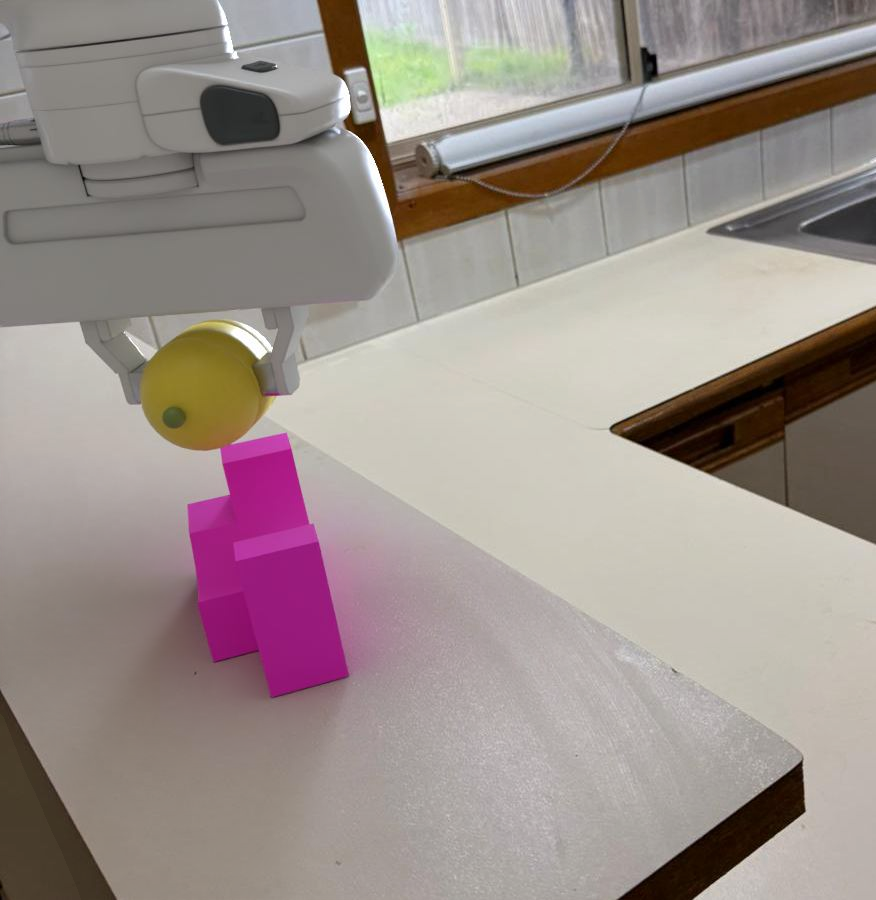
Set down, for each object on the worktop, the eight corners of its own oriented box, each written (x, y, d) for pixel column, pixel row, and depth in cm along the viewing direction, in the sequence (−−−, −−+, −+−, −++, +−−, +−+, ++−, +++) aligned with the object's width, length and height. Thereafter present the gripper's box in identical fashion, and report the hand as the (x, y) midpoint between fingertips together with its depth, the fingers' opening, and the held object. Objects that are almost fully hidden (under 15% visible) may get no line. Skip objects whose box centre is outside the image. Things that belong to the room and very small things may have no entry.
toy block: (205, 572, 67) (174, 456, 64) (312, 546, 69) (286, 432, 66) (217, 712, 54) (178, 575, 51) (348, 676, 56) (318, 541, 53)
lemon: (241, 474, 52) (212, 360, 50) (127, 480, 53) (94, 367, 51) (312, 395, 61) (290, 295, 59) (213, 401, 62) (188, 302, 60)
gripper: (-118, 139, 49) (-15, 433, 55) (336, 94, 46) (395, 408, 52) (-30, 118, 55) (55, 385, 60) (379, 76, 52) (428, 361, 58)
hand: (216, 396), depth 56 cm, fingers closed on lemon, 5 cm apart
